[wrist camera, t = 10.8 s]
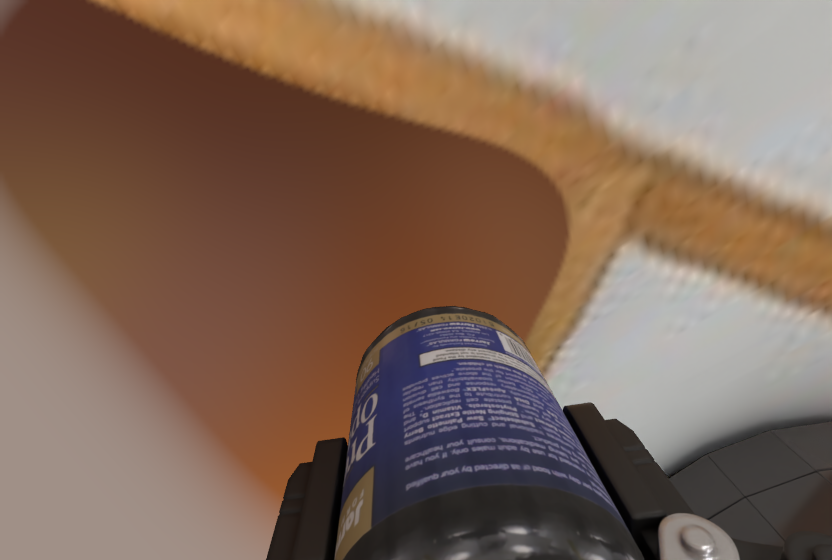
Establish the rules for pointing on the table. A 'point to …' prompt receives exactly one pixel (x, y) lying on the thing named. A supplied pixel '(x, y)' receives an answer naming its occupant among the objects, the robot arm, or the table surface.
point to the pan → (765, 485)
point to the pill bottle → (467, 453)
